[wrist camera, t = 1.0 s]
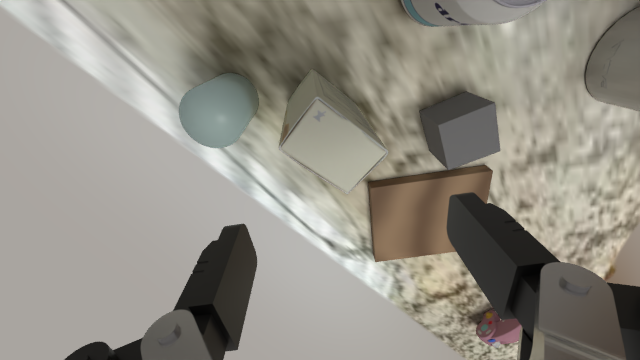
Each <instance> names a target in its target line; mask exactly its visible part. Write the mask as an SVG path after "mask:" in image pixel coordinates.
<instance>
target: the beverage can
mask: <svg viewBox="0 0 640 360" xmlns="http://www.w3.org/2000/svg"><path fill="white" fill-rule="evenodd" d="M544 1H546V0H401V2H402V5H403V7H404V9H405V11H406V12H407V14H408V15H409V16H410V17H411V18H412V19H413V20H414V21H416V22H417V23H419V24H421V25H424V26H431V27H433V26H460V25H487V24H502V23H507V22H510V21H514V20H516V19H519V18H521V17H523V16H525V15H527V14H528V13H530V12H531V11H533V10H534V9H536V8H537V7H538V6H540V5H541V4H542V3H543V2H544Z"/></svg>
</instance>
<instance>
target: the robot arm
mask: <svg viewBox="0 0 640 360" xmlns="http://www.w3.org/2000/svg"><path fill="white" fill-rule="evenodd" d="M586 85H587V88H588V91H589V92H590V94H591V95H592V97H594V98H595V99H597V100H598V101H601V102H604V103H608V104H612V105H616V106H620V107H624V108H628V109H632V110H636V111H640V7H638V8H636V9H634V10H633V11H631V12H629V13H628V14H626V15H625V16H624V17H622V18H621V19H620V20H618V21H617V22H616V23H615V24H614V25H613V26H612V27H611V28H610V29H609V30H608V31H607V32H606V34H605V35H604V36H603V37H602V39H601V40H600V41H599V43H598V44H597V46H596V48H595V49H594V51H593V53H592V55H591V57H590V60H589V62H588V66H587V71H586ZM446 228H447V235H448V238H449V240H450V242H451V244H452V246H453V247H454V249H455V250H456V252H457V253H458V255H459V256H460V258H461V259H462V261H463V262H464V264H465V265H466V267H467V268H468V270H469V271H470V273H471V274H472V276H473V277H474V279H475V280H476V282H477V284H478V285H479V287H480V288H481V290H482V291H483V293H484V294H485V296H486V297H487V299H488V300H489V302H490V303H491V305H492V306H493V308H494V309H495V311H496V312H497V314H498V315H499V317H500V318H501V320H507V319H517V320H518V322H519V323H520V325H521V329H520V333H519V343H518V354H517V360H640V287H636V286H630V285H622V284H613V283H606V282H605V281H604V280H603V279H602V278H601V277H599V276H598V275H596V274H595V273H593V272H591V271H590V270H587V269H585V268H583V267H580V266H577V265H574V264H570V263H564V262H560V261H559V260H558V259H557V258H556V257H555V256H554V255H552V254H551V253H550V252H549V251H548V250H547V249H546V248H545V247H544V246H543V245H542V244H541V243H539V242H538V241H537V240H536V239H535V238H534V237H533V236H532V235H531V234H530V233H529V232H528V231H527V230H526V231H525V230H524V228H523V227H522V226H521V225H520V224H519V223H518V222H516V221H515V219H514V218H513V217H511V216H510V215H509V214H508V213H507V212H506V211H505V210H503V209H501V208H499V207H497V206H495V205H493V204H491V203H488V204H485V203H484V202H483V201H482V200H481V199H480V198H479V197H478V196H477V195H476V194H475V193H474V192H469V193H462V194H455V195H451V196H450V198H449V206H448V216H447V227H446ZM256 267H257V256H256V251H255V249H254V246H253V243H252V241H251V238H250V235H249V232H248V229H247V227H246V225H245V224H238V225H231V226H225V227H224V228H223V230H222V232H221V234H220V236H219V239H218V240H216V241H212V242H211V243H210V244H209V245H208V246H207V247H206V248H205V249H204V250H203V251H202V253H201V256H200V258H199V259H198V261H197V265H196V266H195V268H194V270H193V274H191V276H190V278H189V280H188V282H187V284H186V286H185V288H184V290H183V292H182V294H181V296H180V298H179V300H178V302H177V304H176V306H175V308H174V310H173V311H172V312H170V313H167V314H166V315H164V316H162V317H161V318H159V319H158V320H157V321H156V322H154V323H153V324H152V325H151V327H150V328H149V329H148V330H147V332H146V333H145V335H144V337H143V338H141V339H139V340H137V341H134V342H132V343H129V344H127V345H125V346H122V347H120V348H117V349H115V350H112V349H111V348H110V347H109V346H108V345H107V344H106V343H104V342H94V343H90V344H88V345H85V346H83V347H81V348H80V349H78V350H76V351H75V352H73V353H72V354H71V355H69V356H68V357H67V358H66V359H65V360H223V358H224V355H225V351H233V350H238V346H239V341H240V337H241V333H242V328H243V324H244V320H245V315H246V311H247V307H248V303H249V298H250V294H251V289H252V285H253V281H254V277H255V272H256Z"/></svg>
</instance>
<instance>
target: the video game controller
mask: <svg viewBox="0 0 640 360" xmlns="http://www.w3.org/2000/svg"><path fill="white" fill-rule="evenodd" d="M520 329H521V325H520V323H519V322H518V320H517V319H507V320H500V317H499V315H498V314H497V313H496V312H495V311H494V310H489V311H487V312H485V313H484V315H483V320H482V321H481V323H479V324H478V326H477V328H476V334H477V335H478V337H479V338H480V339H481V340H482V341H484V342H485V343H486V344H488V345H490V346H494V347H495V348H498V347H499V346H500V344H508V343H514V342H517V341H519V333H520Z"/></svg>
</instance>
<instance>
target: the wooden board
mask: <svg viewBox="0 0 640 360" xmlns="http://www.w3.org/2000/svg"><path fill="white" fill-rule="evenodd" d="M492 173H493V171H492V170H491V169H490V168H488V167H487V166H486V165H483V166H476V167H469V168H462V169H455V170H448V171H441V172H434V173H427V174H420V175H413V176H406V177H399V178H393V179H386V180H379V181H372V182H368V187H369V201H370V215H371V229H372V243H373V255H374V259H375V262H379V261H387V260H395V259H402V258H410V257H418V256H425V255H433V254H441V253H448V252H456V250H455V249H454V247H453V246H452V244H451V242H450V240H449V238H448V235H447V228H446V227H447V216H448V206H449V198H450V196H451V195H455V194H462V193H469V192H474V193H475V194H476V195H477V196H478V197H479V198H480V199H481V200H482V201H483V202H484V203H485V204H487V200H488V194H489V189H490V183H491V178H492Z"/></svg>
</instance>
